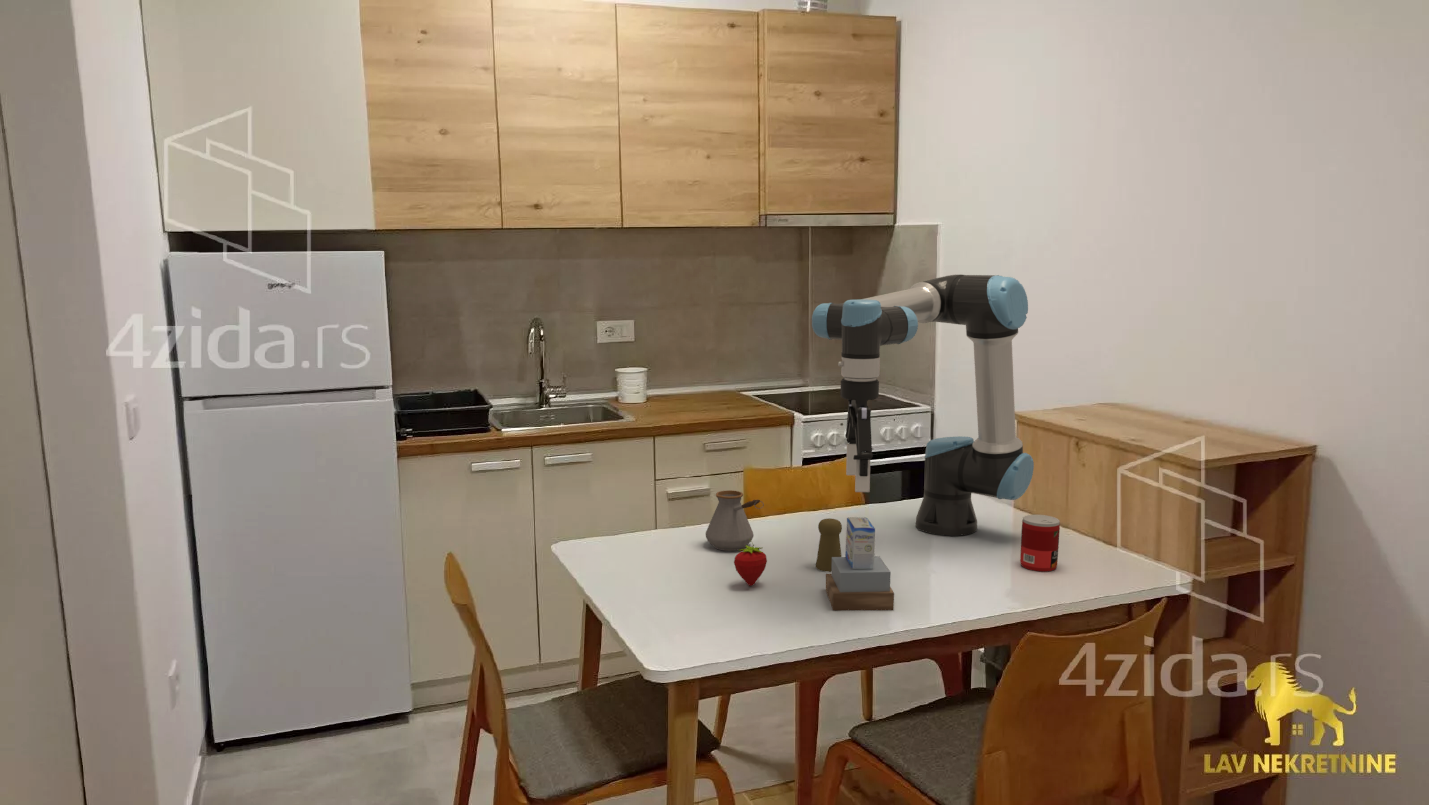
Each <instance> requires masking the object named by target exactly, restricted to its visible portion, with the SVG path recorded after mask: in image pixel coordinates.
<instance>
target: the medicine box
mask: <svg viewBox="0 0 1429 805" xmlns="http://www.w3.org/2000/svg"><path fill="white" fill-rule="evenodd" d="M845 534H846V535H845V554H844V555H845V556H844V557H846V559H847V560H848V562H849V563H850V565H851V567H852V568H853V569H873V568H874V556H875V551H876V550H875V549H876V548H875V546H876V543H875V542H876V528H875V527H874V525H873V524H872V523H871V522H870V520H869V519H868V517H861V516H859V517H857V516H854V517H847V518H846V533H845Z"/></svg>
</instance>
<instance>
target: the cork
mask: <svg viewBox="0 0 1429 805" xmlns="http://www.w3.org/2000/svg"><path fill="white" fill-rule="evenodd" d="M817 528H818V532H819V533H820V537H819V542H818V549H817V555H816V556H817V557H816V561H815V562H816V563H815V569H817V570H819V571H821V572H828V573H829V572H830V573H831V571H832V557H843V555H842V549H841V548H842V547H841V539H840V534H841V532H842V530H843V525H842V523H841V521H839V519H836V518H824V519H821V520H819V522H818V527H817Z"/></svg>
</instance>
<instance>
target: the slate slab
mask: <svg viewBox="0 0 1429 805" xmlns="http://www.w3.org/2000/svg"><path fill="white" fill-rule="evenodd" d="M830 574H831V576H832V578H833V580H834V582H835V584H836V585H837V587H838V589H839V591H840V592H879V591H890V587H891V570H890V569H889V568H888V566H887V565H886V564H885V562H884V560H883V559H882V557H881V556H880V555H879V556H878V555H877V556H876V555H874V568H873V569H853V568H852V567H851V565H850V563H849V562H848V560H847V559H846V557H845V556H842V557H832V571H831V572H830Z"/></svg>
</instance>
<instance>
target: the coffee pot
mask: <svg viewBox="0 0 1429 805" xmlns="http://www.w3.org/2000/svg"><path fill="white" fill-rule="evenodd" d="M743 496H744V493H743V492H742V491H739V490H720V491H717V492H716V494H715V497H716V498H717V501H718V503H717V505H716V508H715V511H714V513H713V515H712V517H711V520H710V522H709V524H708V527H707V528H706V530H705V538H706V540H707V542H708V543H710V545H711V546H714V547H715V549H716V550H720V551H727V552H728V551H729V552H731V551H739V550H741V549H746V545H747V546H748V545H749V544H750V543H752V542H751V541H752V540H753V538H754V532H753V529H752V527H751V524H750V522H749V519H748V517H747V515H746V512H745V510H744V509H747V508H751V507H753V506H754V507H755V509H758V510H760V509H762V507H764V505H765V504H764V502H763V501H762V500H760V499H753V500H752V501H751V500H750V501H747V502H745V503H743V504H742V502H741V500H742V497H743ZM759 503H761V504H762V507H760V508H759V507H756V505H759ZM750 540H751V541H750ZM714 547H713V548H714Z"/></svg>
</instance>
